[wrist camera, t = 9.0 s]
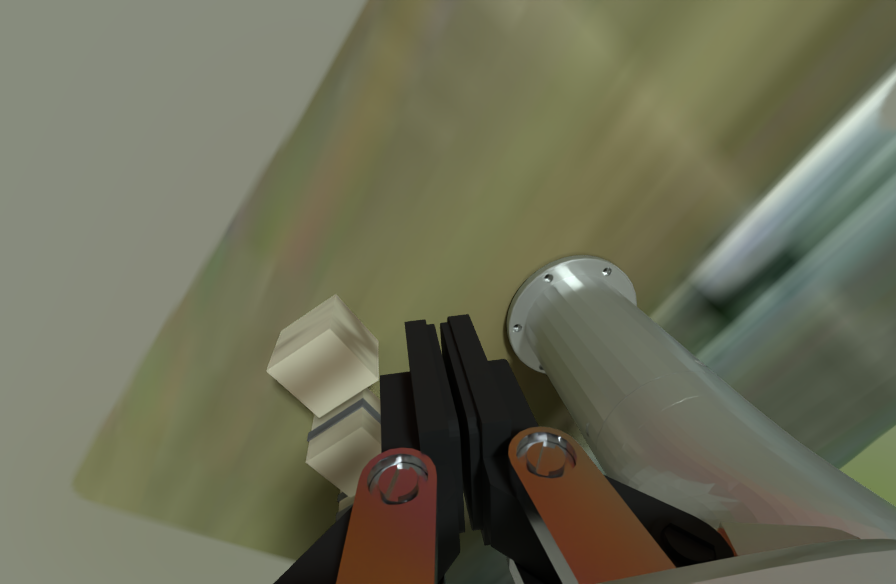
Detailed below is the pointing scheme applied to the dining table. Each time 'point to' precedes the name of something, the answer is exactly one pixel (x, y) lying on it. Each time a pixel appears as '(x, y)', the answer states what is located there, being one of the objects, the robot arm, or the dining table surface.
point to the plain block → (325, 357)
